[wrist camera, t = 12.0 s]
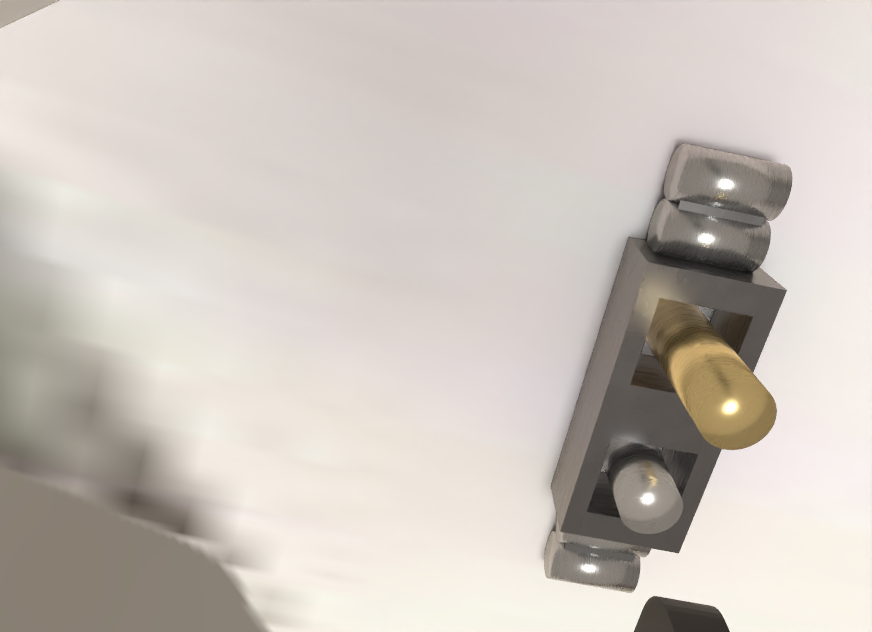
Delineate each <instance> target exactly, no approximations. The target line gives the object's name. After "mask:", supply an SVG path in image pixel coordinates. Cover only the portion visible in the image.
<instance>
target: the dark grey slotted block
mask: <svg viewBox="0 0 872 632" xmlns="http://www.w3.org/2000/svg"><path fill="white" fill-rule="evenodd" d="M791 187H792V172H791V169H790V167H789V166H787V165H785V164H780V163H775V162H770V161H766V160H761V159H756V158H751V157H747V156H742V155H737V154H732V153H728V152H723V151H718V150H714V149H709V148H704V147H699V146H695V145H690V144H685V143H682V144H680V145H679V146H678V147H677V149H676V150H675V152H674V153H673V155H672V158H671V160H670V162H669V165H668V168H667V172H666V176H665V183H664V194H665V197H666V199H662V200H661V201H660V202H659V203H658V205H657V207H656V208H655V210H654V213H653V215H652V218H651V221H650V225H649V230H648V237H647V241H646V240H641V239H636V238H631V237H629V238H628V241H627V244H626V247H625V250H624V254H623V257H622V260H621V263H620V266H619V270H618V273H617V276H616V279H615V282H614V286H613V289H612V292H611V295H610V298H609V302H608V305H607V308H606V311H605V314H604V317H603V321H602V324H601V327H600V330H599V333H598V337H597V340H596V343H595V346H594V349H593V353H592V356H591V359H590V362H589V365H588V369H587V372H586V375H585V378H584V381H583V385H582V388H581V391H580V394H579V397H578V401H577V404H576V407H575V410H574V413H573V417H572V420H571V423H570V426H569V429H568V433H567V436H566V439H565V442H564V445H563V449H562V452H561V455H560V458H559V461H558V465H557V468H556V471H555V474H554V477H553V481H552V484H551V489H552V494H553V499H554V504H555V509H556V514H557V518H556V532H555V531H553V532H551V534H550V536H549V538H548V541H547V545H546V551H545V560H544V568H545V575H546V577H547V578H549V579H554V580H560V581H566V582H571V583H577V584H583V585H588V586H594V587H600V588H605V589H611V590H616V591H622V592H628V593H632V592H633V591H634V590H635V588H636V586H637V583H638V579H639V574H640V557H646V556H647V555H648V554H649V552H650V550H651V548H653V549H658V550H664V551H669V552H675V553H679V551H680V549H681V547H682V544H683V542H684V539H685V537H686V534H687V532H688V530H689V527H690V525H691V522H692V520H693V517H694V515H695V513H696V510H697V508H698V505H699V503H700V500H701V498H702V496H703V493H704V491H705V488H706V486H707V483H708V481H709V478H710V476H711V474H712V471H713V469H714V466H715V464H716V461H717V459H718V457H719V454H720V452H721V448H718V447H715V446H713V445H711V444H710V443H709V442H707V441H706V440H705V439H704V438H703V436H702V435H701V433H700V431H699V430H698V428H697V426H696V425H695V423H694V421H693V420H692V418H691V416H690V414H689V413H688V411H687V409H686V408H685V406H684V404H683V403H682V401H681V399H680V398H679V396H678V394H677V393H676V391H675V389H674V387H673V386H672V384H671V382H670V381H669V379H668V377H667V376H666V374H665V372H664V371H663V369H662V367H661V366H660V364H659V362H658V360H657V359H656V357H652V356H647V355H642V354H641V351H642V348H643V345H644V342H645V339H646V336H647V333H648V330H649V328H650V325H651V322H652V319H653V316H654V313H655V310H656V307H657V304H658V301H659V298H663V299H668V300H673V301H678V302H683V303H688V304H693V305H698V306H703V307H708V308H713V309H715V310H714V313H713V316H712V318H711V321H710V323H711V324H712V325H713V326H714V328H715V329H716V330H717V331H718V332H719V333H720V335H721V336H722V337H723V338H724V339H725V341H726V342H727V343H728V344H729V345H730V347H731V348H732V349H733V350H734V351H735V352H736V354H737V355H738V356H739V357H740V358H741V360H742V361H743V362H744V363H745V364H746V366H747V367H748V368H749V369H750V370H751V371H752V373H753V372H754V369H755V367H756V364H757V362H758V359H759V357H760V354H761V352H762V350H763V347H764V345H765V342H766V340H767V337H768V335H769V333H770V330H771V328H772V325H773V323H774V320H775V318H776V316H777V313H778V311H779V308H780V306H781V303H782V301H783V299H784V296H785V294H786V291H787V290H786V289H785V288H783V287H782V286H781V285H780V284H779V283H777V282H776V281H775V280H774V279H773V278H771V277H770V276H769V275H768V274H767V273H766V272H764V271H763V270H762V269H761V268H760V265H761V264H762V262H763V261H764V259H765V257H766V254H767V251H768V248H769V244H770V237H771V232H770V226H769V223H768V221H771V220H773V219H775V218H776V217H777V216H778V215H779V214H780V213H781V212H782V210H783V208H784V207H785V205H786V203H787V201H788V198H789V195H790V191H791ZM658 447H662V448H663V449H662V452H661V453H660V451H659V448H658ZM602 465H604V468H605V471H606V473H603V472H600V471H601V468H602Z"/></svg>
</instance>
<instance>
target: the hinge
mask: <svg viewBox="0 0 872 632" xmlns="http://www.w3.org/2000/svg"><path fill="white" fill-rule="evenodd" d="M57 1H59V0H0V28H1V27H3V26H5V25H8V24H10V23H12V22H14V21H16V20H18V19H20V18H22V17H25V16H27V15H29V14H31V13H33V12H35V11H37V10H40V9H42V8H44V7H46V6H48V5H50V4H52V3H54V2H57Z"/></svg>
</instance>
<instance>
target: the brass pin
mask: <svg viewBox="0 0 872 632" xmlns="http://www.w3.org/2000/svg"><path fill="white" fill-rule="evenodd" d="M645 340H646V342H647V344H648V345H649V347H650V349H651V350H652V352H653V354H654V355H655V357H656V359H657V360H658V362H659V364H660V366H661V367H662V369H663V371H664V372H665V374H666V376H667V377H668V379H669V381H670V382H671V384H672V386H673V387H674V389H675V391H676V393H677V394H678V396H679V398H680V399H681V401H682V403H683V404H684V406H685V408H686V409H687V411H688V413H689V414H690V416H691V418H692V420H693V421H694V423H695V425H696V426H697V428H698V430H699V431H700V433H701V435H702V436H703V438H704V439H705V440H706V441H707V442H709V443H710V444H711V445H713V446H715V447H718V448H721V449H726V450H737V449H743V448H746V447H749V446H752V445H754V444H755V443H757V442H759V441H760V440H762V439H763V438H764V437H765V436H766V435H767V434H768V433H769V431H770V430H771V428H772V427H773V425H774V422H775V420H776V413H777V409H776V404H775V401H774V399H773V397H772V395H771V394H770V393H769V392H768V390H767V389H766V388H765V387H764V386H763V385H762V383H761V382H760V381H759V380H758V379H757V377H756V376H755V375H754V374H753V373H752V371H751V370H750V369H749V368H748V367H747V366H746V364H745V363H744V362H743V361H742V360H741V358H740V357H739V356H738V355H737V354H736V352H735V351H734V350H733V349H732V348H731V347H730V345H729V344H728V343H727V342H726V341H725V339H724V338H723V337H722V336H721V335H720V333H719V332H718V331H717V330H716V329H715V328H714V326H713V325H712V324H711V323H710V322H709V320H708V319H707V318H706V317H705V316H704V314H703V313H702V312H701V311H700V310H699V309H698V307H697V306H696V305H693V304H688V303H683V302H678V301H673V300H668V299H663V298H659V301H658V304H657V307H656V310H655V313H654V316H653V319H652V322H651V325H650V328H649V330H648V333H647V336H646V339H645Z"/></svg>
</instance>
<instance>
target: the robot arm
mask: <svg viewBox="0 0 872 632" xmlns="http://www.w3.org/2000/svg"><path fill="white" fill-rule="evenodd" d="M634 632H730V631H729V629H728V627H727V624H726V622H725V620H724V618H723V616H722V614H721V613H720V612H719V610H718V609H716V608H715V607H713V606H709V605H703V604H697V603H691V602H686V601H680V600H674V599H669V598H663V597H657V596H653V597H651V598H650V599H649V600H648V601H647V602H646V604H645V606H644V608H643V610H642V613H641V615H640V618H639V620H638V623H637V625H636V628H635V630H634Z"/></svg>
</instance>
